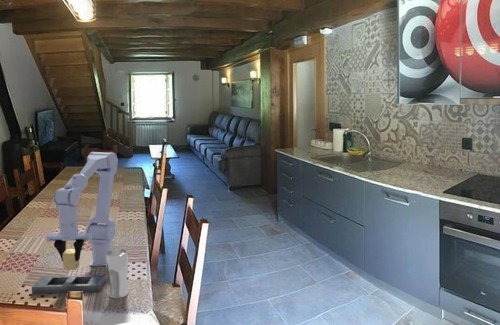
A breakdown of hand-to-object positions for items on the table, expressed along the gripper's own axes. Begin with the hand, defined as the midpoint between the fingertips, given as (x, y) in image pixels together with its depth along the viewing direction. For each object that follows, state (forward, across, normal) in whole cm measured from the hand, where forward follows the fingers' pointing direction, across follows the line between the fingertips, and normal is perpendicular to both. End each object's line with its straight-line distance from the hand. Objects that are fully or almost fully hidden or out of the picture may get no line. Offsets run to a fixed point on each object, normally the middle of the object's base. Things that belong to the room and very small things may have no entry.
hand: (71, 260), depth 139 cm
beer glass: (+9, +18, -8) cm, 22 cm away
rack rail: (+9, 0, -2) cm, 9 cm away
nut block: (+3, 0, 0) cm, 3 cm away
